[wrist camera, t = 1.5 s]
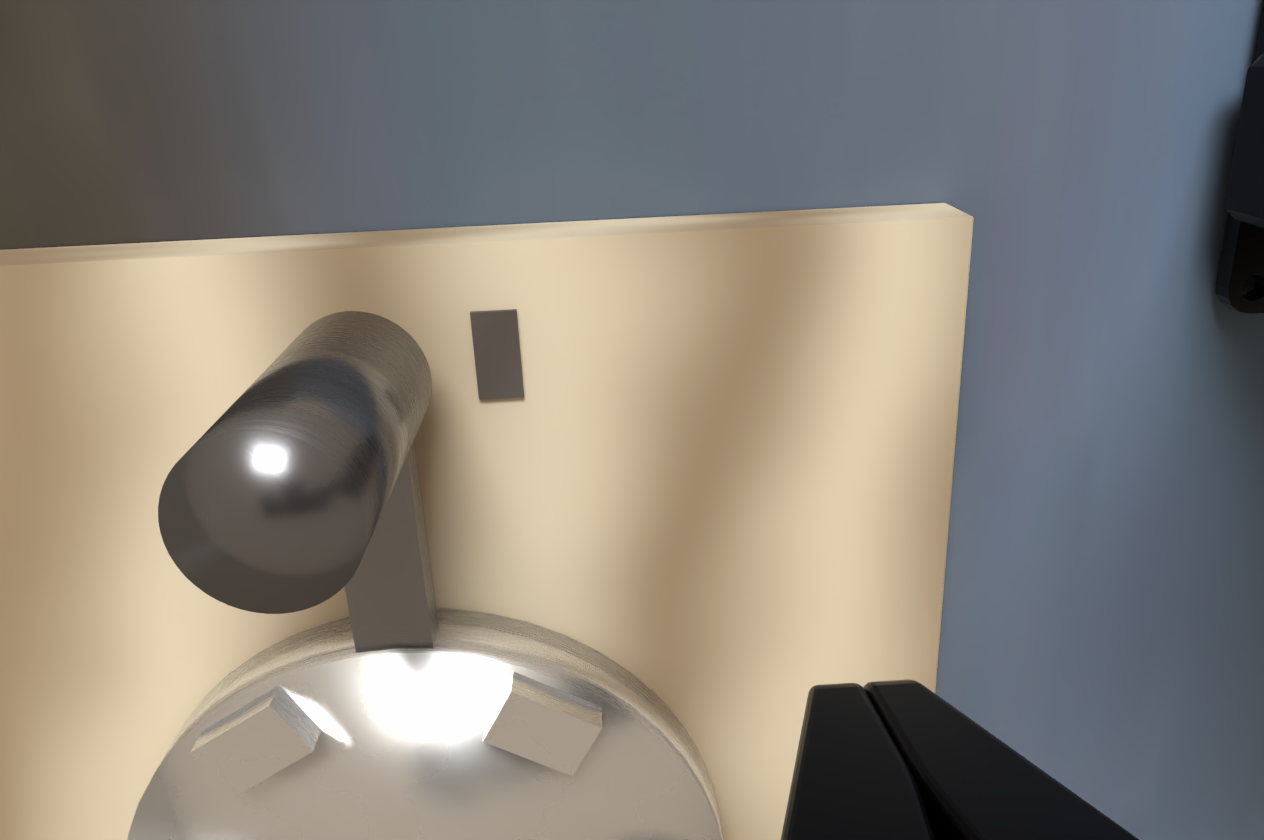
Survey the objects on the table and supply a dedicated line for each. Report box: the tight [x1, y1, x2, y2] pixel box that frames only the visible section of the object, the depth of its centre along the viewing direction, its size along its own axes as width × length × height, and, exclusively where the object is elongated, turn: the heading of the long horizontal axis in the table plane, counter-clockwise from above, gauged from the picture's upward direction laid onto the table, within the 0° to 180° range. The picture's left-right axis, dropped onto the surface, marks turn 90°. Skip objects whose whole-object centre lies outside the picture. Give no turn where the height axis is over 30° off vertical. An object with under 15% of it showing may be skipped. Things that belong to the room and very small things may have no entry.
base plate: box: [0, 203, 974, 840], centre depth 21 cm, size 23×20×2 cm
